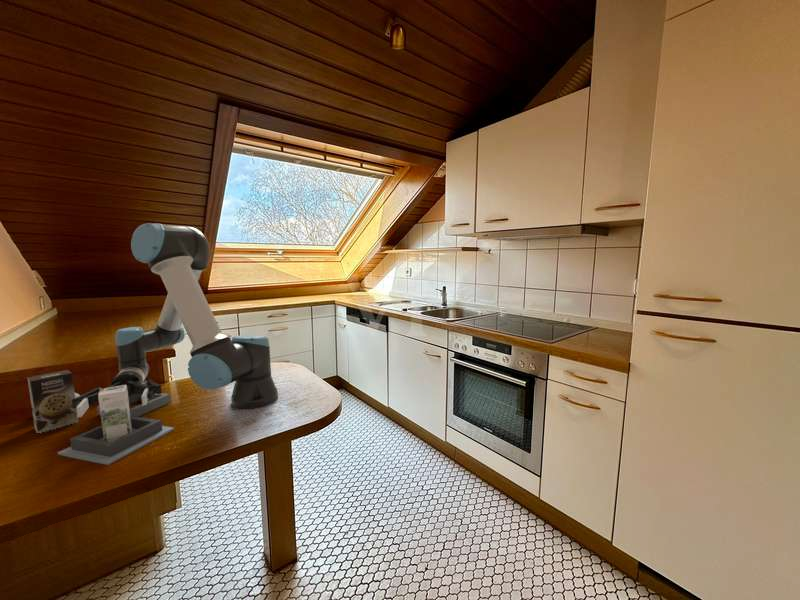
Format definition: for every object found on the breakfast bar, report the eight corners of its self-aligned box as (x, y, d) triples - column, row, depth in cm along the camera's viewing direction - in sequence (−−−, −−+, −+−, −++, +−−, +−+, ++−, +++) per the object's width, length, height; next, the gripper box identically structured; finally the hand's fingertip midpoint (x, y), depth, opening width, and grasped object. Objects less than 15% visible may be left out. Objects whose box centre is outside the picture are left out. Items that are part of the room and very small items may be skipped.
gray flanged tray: (174, 429, 102) (172, 417, 101) (107, 465, 85) (105, 451, 84) (129, 422, 107) (127, 411, 106) (57, 454, 90) (55, 441, 89)
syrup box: (133, 431, 100) (126, 383, 98) (131, 440, 95) (125, 389, 93) (107, 437, 97) (100, 388, 95) (104, 447, 92) (97, 394, 90)
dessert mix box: (37, 434, 100) (29, 381, 98) (34, 428, 104) (25, 377, 102) (79, 422, 108) (72, 372, 106) (75, 417, 111) (67, 368, 109)
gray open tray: (170, 402, 121) (169, 394, 121) (129, 420, 108) (128, 411, 108) (141, 398, 125) (140, 390, 125) (98, 415, 112) (96, 406, 112)
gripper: (175, 385, 117) (169, 408, 99) (78, 401, 106) (51, 431, 87) (173, 364, 116) (166, 383, 98) (75, 377, 105) (46, 403, 86)
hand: (112, 406), depth 92 cm, fingers open, 13 cm apart
